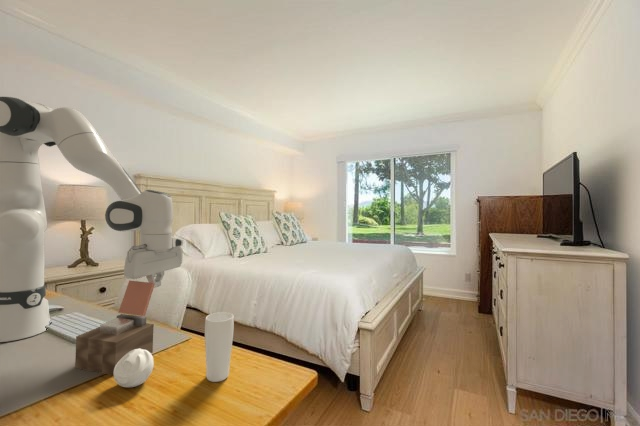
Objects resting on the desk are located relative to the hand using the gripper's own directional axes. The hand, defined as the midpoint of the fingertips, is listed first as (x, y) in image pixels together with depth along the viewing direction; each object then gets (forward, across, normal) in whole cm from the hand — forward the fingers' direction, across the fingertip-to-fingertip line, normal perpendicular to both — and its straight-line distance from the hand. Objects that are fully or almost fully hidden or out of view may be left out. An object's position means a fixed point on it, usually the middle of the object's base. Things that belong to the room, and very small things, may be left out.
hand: (155, 287), depth 91 cm
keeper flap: (+1, -7, 0) cm, 7 cm away
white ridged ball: (+16, -21, -13) cm, 30 cm away
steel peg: (+15, -13, 0) cm, 20 cm away
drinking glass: (+16, -13, -30) cm, 37 cm away
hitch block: (+16, -13, 0) cm, 21 cm away
